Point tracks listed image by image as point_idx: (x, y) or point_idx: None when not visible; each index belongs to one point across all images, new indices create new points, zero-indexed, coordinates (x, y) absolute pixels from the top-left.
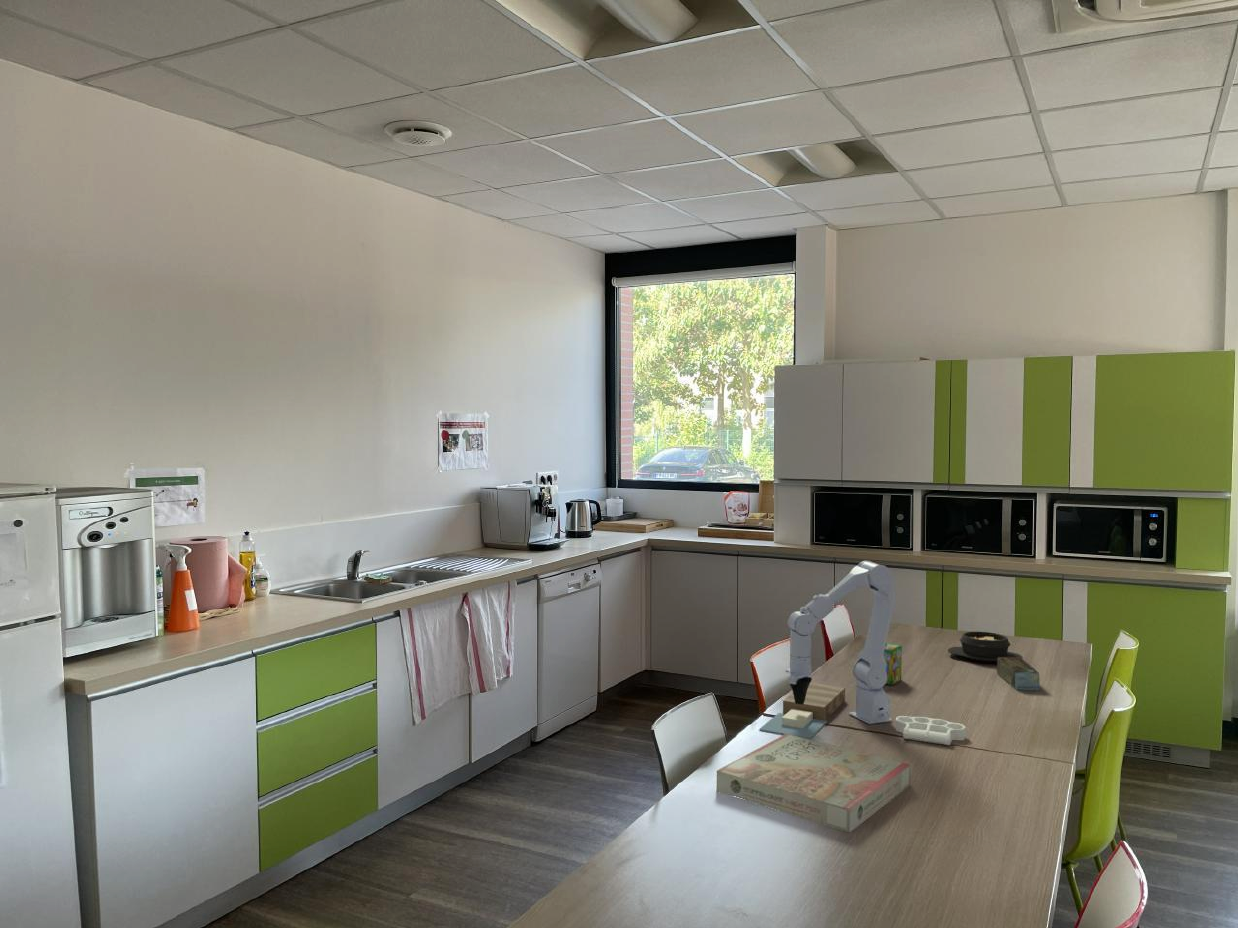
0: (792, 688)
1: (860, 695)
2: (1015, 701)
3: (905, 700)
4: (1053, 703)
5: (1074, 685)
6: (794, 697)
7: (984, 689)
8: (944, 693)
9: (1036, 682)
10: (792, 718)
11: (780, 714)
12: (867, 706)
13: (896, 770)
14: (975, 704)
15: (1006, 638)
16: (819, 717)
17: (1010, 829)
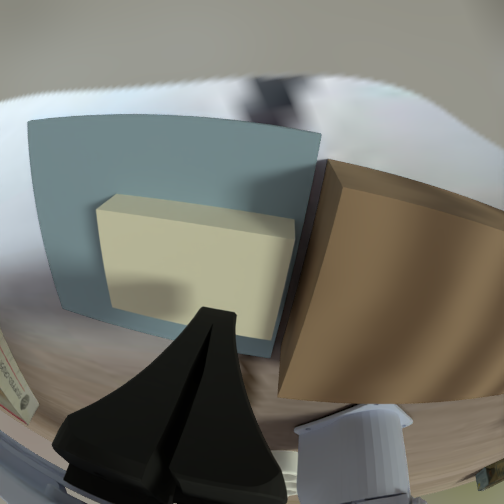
0: (126, 385)
1: (340, 481)
2: (444, 480)
3: (479, 429)
4: (431, 490)
5: None
6: (180, 333)
7: (494, 456)
8: (495, 443)
9: (477, 481)
10: (114, 263)
11: (294, 149)
12: (316, 464)
13: (2, 406)
14: (439, 471)
15: None
16: (284, 341)
17: (37, 428)
